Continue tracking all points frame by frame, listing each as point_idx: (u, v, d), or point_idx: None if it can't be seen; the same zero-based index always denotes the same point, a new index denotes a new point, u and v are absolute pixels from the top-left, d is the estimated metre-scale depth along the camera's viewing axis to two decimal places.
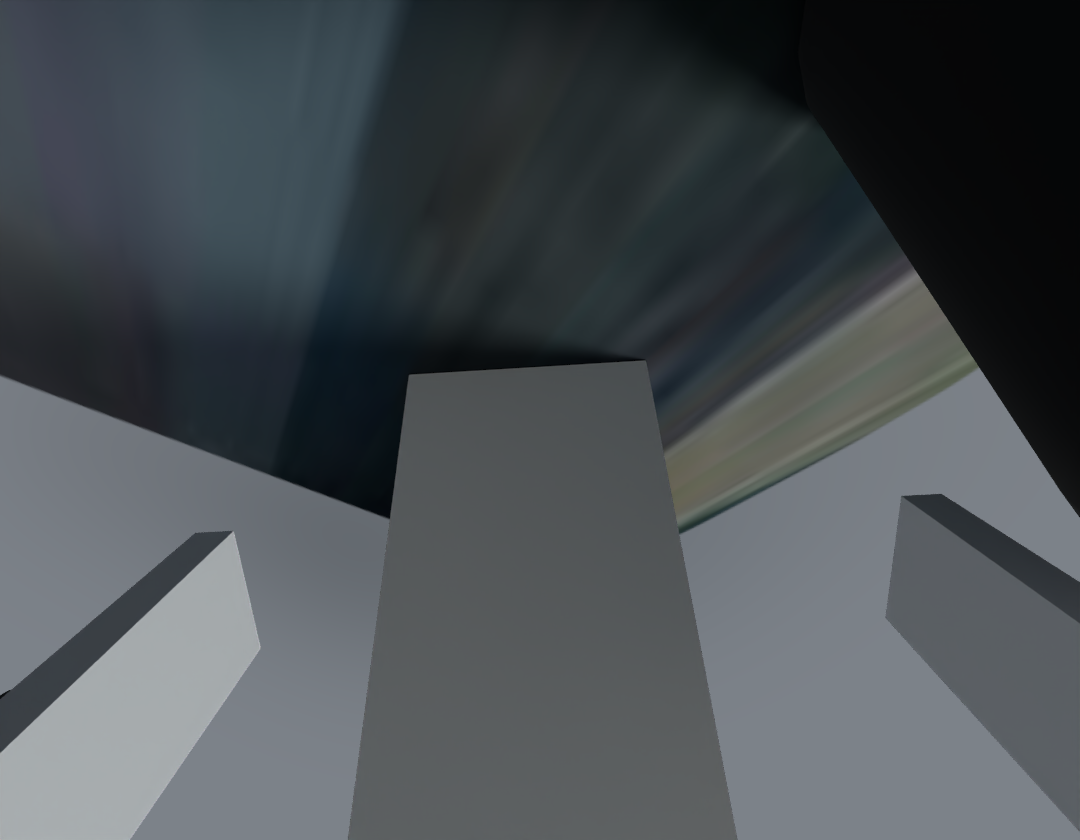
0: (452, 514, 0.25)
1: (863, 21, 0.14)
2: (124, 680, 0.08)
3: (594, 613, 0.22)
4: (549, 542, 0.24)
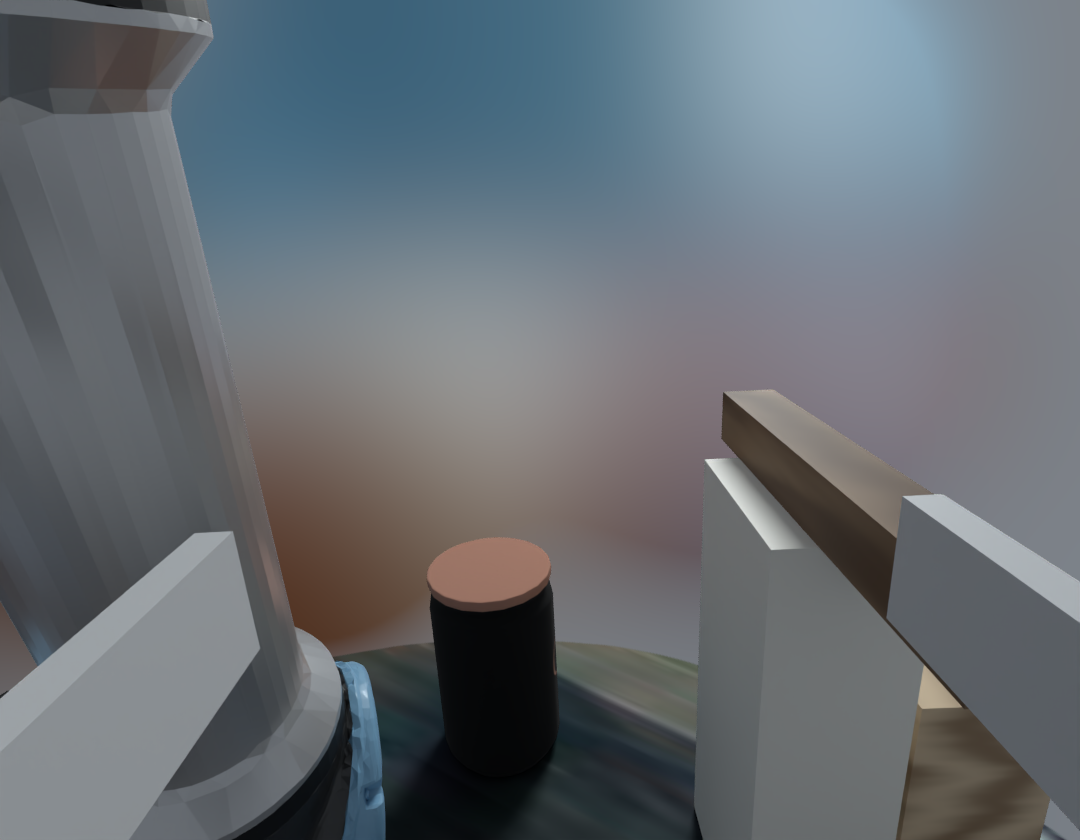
0: None
1: (489, 739, 0.50)
2: (122, 680, 0.08)
3: (711, 715, 0.41)
4: (716, 769, 0.40)
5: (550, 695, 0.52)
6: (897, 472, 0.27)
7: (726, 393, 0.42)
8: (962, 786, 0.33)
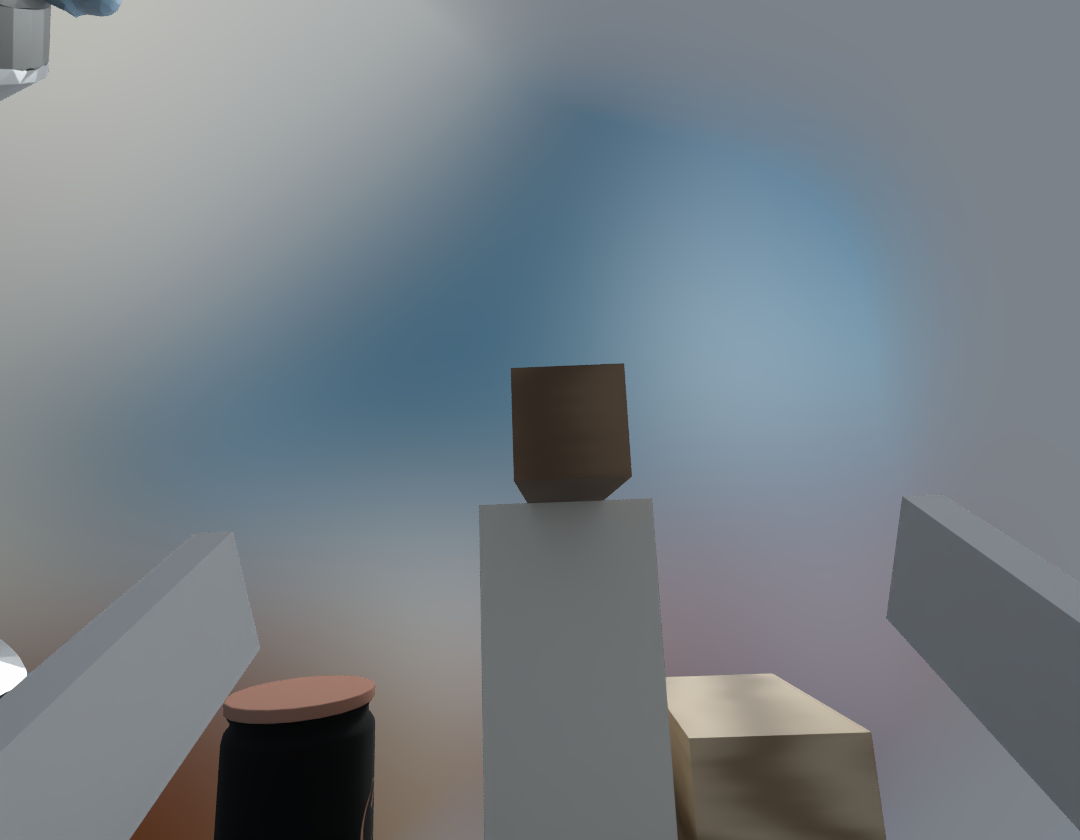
0: None
1: None
2: (124, 679, 0.08)
3: None
4: None
5: None
6: None
7: None
8: None
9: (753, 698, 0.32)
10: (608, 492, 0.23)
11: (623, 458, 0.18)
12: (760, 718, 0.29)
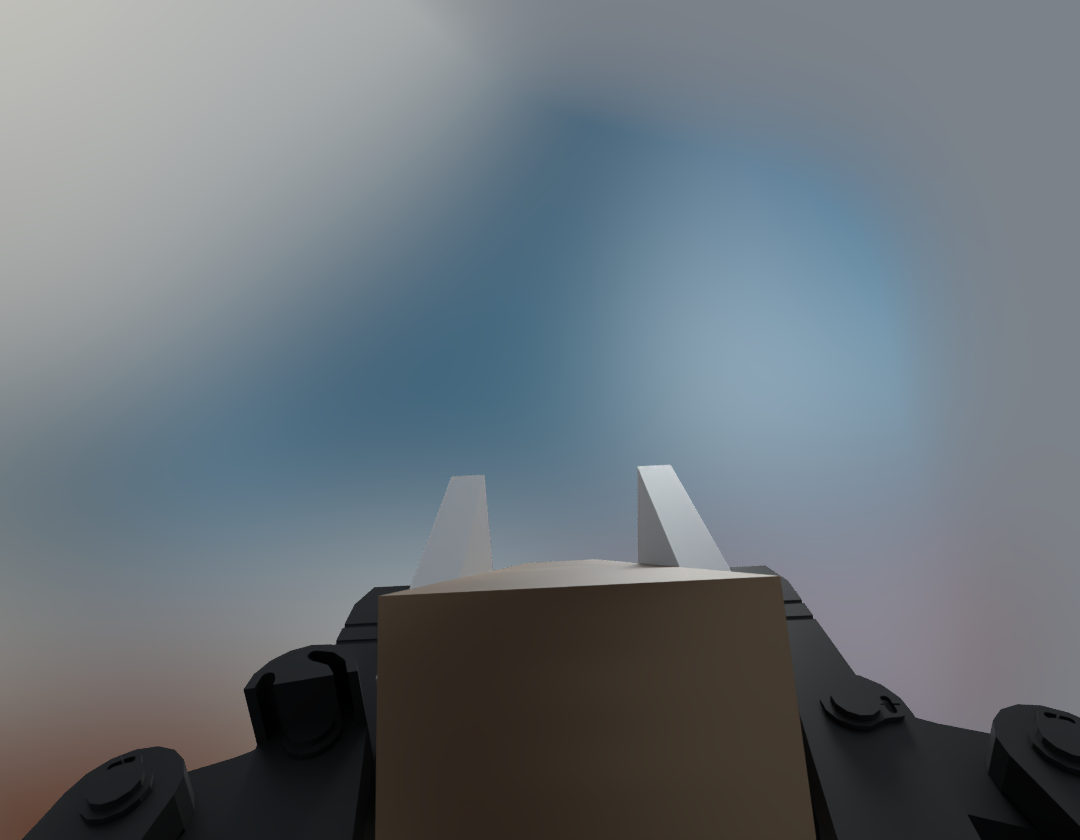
0: None
1: None
2: None
3: None
4: None
5: None
6: None
7: None
8: None
9: None
10: None
11: None
12: None
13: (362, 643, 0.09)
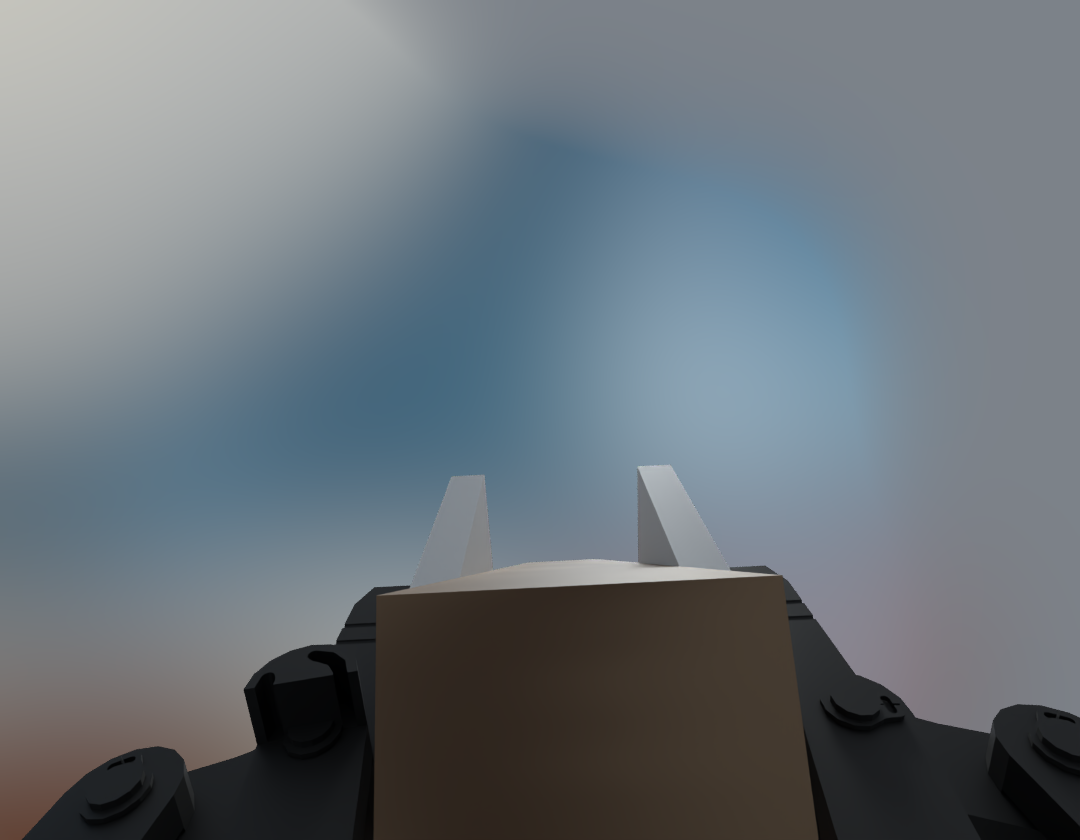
0: None
1: None
2: None
3: None
4: None
5: None
6: (628, 562, 0.15)
7: None
8: None
9: None
10: None
11: None
12: None
13: (362, 643, 0.09)
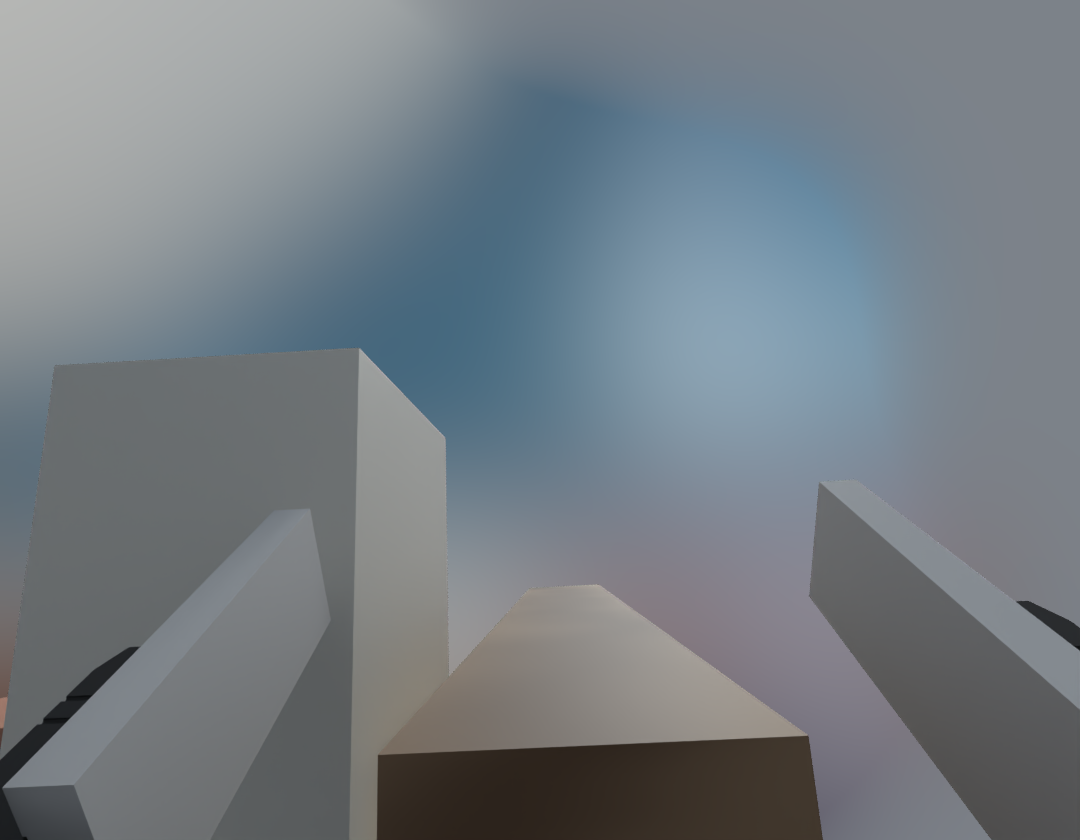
0: None
1: None
2: (235, 637, 0.09)
3: None
4: None
5: None
6: (634, 614, 0.15)
7: (531, 588, 0.30)
8: None
9: None
10: None
11: None
12: None
13: None
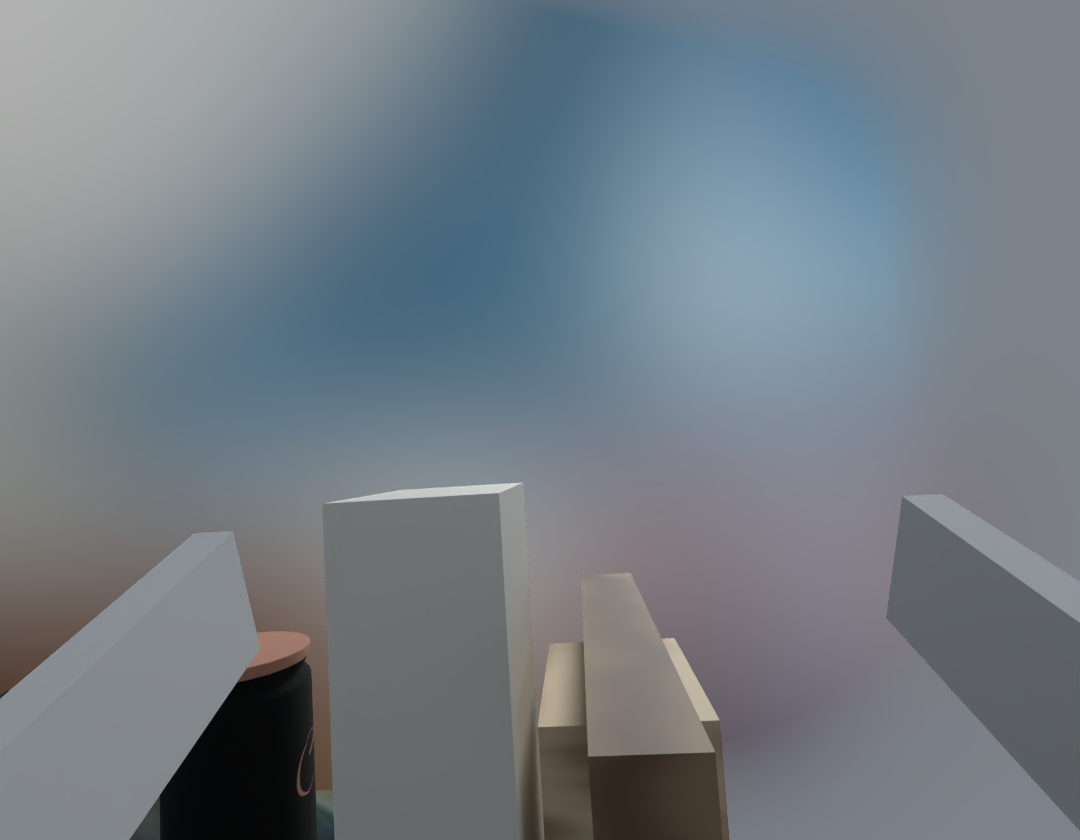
0: None
1: None
2: (124, 679, 0.08)
3: None
4: None
5: (287, 820, 0.43)
6: (658, 639, 0.27)
7: (582, 576, 0.42)
8: None
9: None
10: None
11: None
12: None
13: None
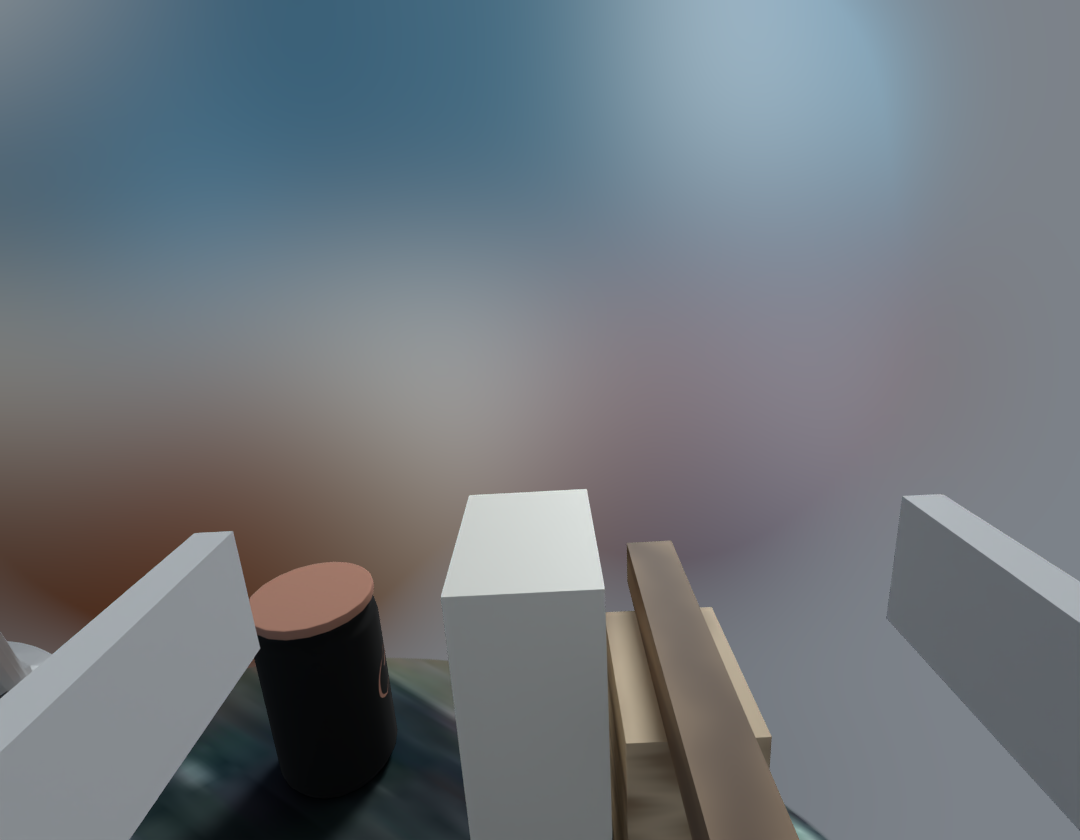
0: None
1: (308, 762, 0.51)
2: (124, 679, 0.08)
3: None
4: None
5: (375, 717, 0.53)
6: (729, 683, 0.32)
7: (628, 545, 0.47)
8: (678, 815, 0.34)
9: None
10: None
11: None
12: None
13: None
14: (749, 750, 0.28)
